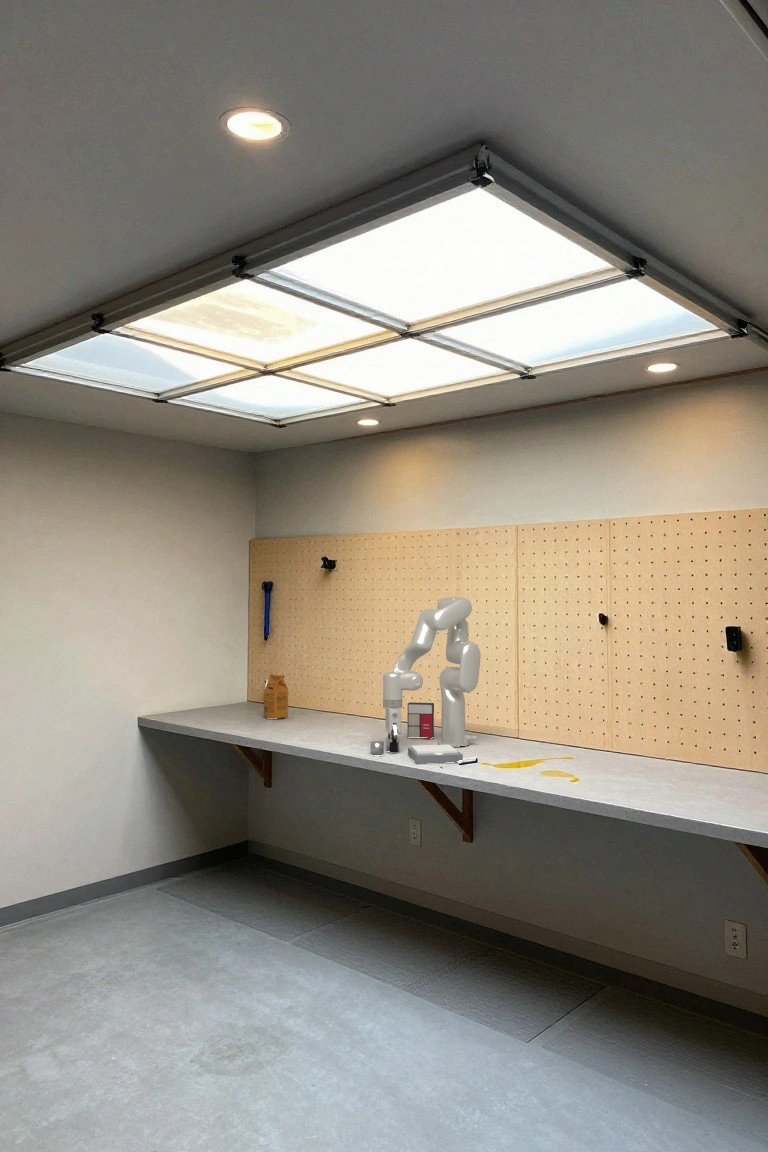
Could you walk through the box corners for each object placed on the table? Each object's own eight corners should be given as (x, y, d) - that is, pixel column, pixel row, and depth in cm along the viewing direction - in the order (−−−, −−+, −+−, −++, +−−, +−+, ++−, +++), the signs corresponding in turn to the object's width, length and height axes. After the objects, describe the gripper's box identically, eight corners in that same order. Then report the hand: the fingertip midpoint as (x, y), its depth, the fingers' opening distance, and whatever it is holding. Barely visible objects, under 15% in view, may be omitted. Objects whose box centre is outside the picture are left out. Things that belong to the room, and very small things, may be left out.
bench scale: (451, 754, 314) (451, 744, 314) (462, 763, 297) (462, 752, 298) (408, 755, 312) (408, 745, 312) (416, 764, 295) (416, 753, 295)
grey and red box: (407, 738, 350) (407, 703, 351) (408, 737, 355) (408, 702, 355) (432, 739, 348) (432, 704, 349) (434, 738, 353) (434, 702, 353)
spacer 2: (397, 750, 322) (397, 737, 322) (400, 753, 317) (400, 739, 317) (385, 751, 321) (385, 738, 322) (387, 753, 317) (387, 740, 317)
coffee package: (277, 716, 421) (277, 672, 421) (290, 718, 411) (290, 674, 412) (260, 717, 414) (260, 673, 415) (273, 720, 405) (273, 675, 405)
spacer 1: (382, 754, 315) (382, 740, 315) (384, 756, 310) (384, 743, 310) (369, 754, 314) (369, 741, 315) (371, 756, 310) (371, 743, 310)
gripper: (406, 706, 312) (405, 755, 312) (398, 701, 329) (398, 747, 328) (386, 707, 311) (386, 755, 310) (379, 701, 328) (379, 747, 327)
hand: (392, 750), depth 319 cm, fingers closed on spacer 2, 5 cm apart
